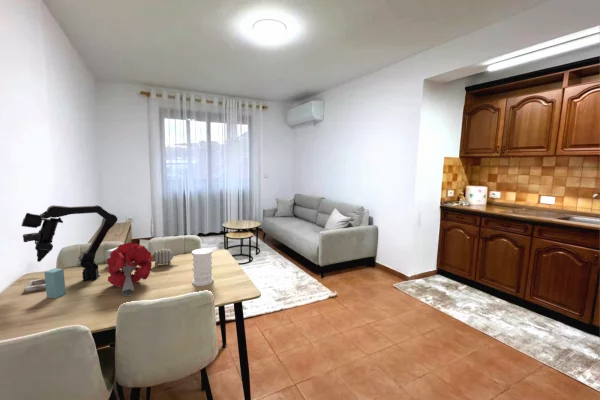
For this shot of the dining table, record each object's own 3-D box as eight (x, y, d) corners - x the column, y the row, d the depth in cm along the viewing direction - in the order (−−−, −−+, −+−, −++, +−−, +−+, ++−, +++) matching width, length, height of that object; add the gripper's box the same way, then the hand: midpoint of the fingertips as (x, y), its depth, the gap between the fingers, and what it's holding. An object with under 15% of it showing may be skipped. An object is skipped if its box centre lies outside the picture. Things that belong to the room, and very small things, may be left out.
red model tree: (155, 300, 149) (153, 258, 170) (150, 271, 136) (148, 230, 156) (107, 311, 140) (111, 266, 161) (96, 282, 126) (102, 236, 147)
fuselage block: (56, 292, 141) (54, 268, 139) (65, 293, 141) (63, 268, 139) (46, 297, 136) (44, 272, 134) (56, 298, 136) (53, 272, 134)
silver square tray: (58, 280, 156) (58, 276, 155) (54, 288, 146) (54, 283, 146) (29, 285, 149) (28, 280, 149) (23, 293, 139) (22, 288, 139)
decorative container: (218, 280, 160) (217, 249, 158) (203, 287, 150) (202, 255, 148) (202, 276, 165) (202, 247, 163) (187, 283, 155) (186, 252, 153)
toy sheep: (148, 265, 182) (147, 248, 181) (175, 260, 192) (175, 244, 191) (151, 270, 174) (150, 252, 172) (179, 264, 184) (179, 248, 182)
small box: (114, 267, 177) (113, 251, 176) (107, 266, 178) (106, 250, 177) (124, 263, 185) (123, 247, 184) (117, 262, 186) (116, 247, 185)
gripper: (27, 223, 145) (17, 253, 143) (27, 230, 132) (16, 262, 130) (54, 227, 153) (45, 255, 151) (57, 234, 139) (47, 264, 138)
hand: (38, 259), depth 143 cm, fingers open, 9 cm apart
